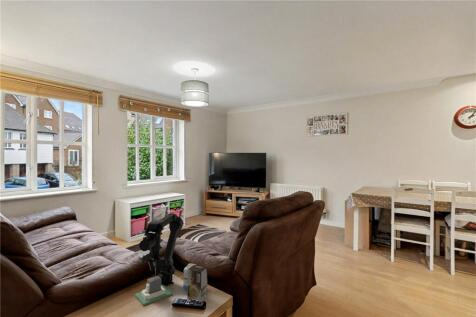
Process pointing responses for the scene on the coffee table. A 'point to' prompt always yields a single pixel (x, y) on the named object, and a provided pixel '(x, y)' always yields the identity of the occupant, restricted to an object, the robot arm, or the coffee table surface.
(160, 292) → the dock
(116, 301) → the coffee table surface
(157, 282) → the plug
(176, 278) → the coffee table surface
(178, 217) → the robot arm
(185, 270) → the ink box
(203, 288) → the coffee box
